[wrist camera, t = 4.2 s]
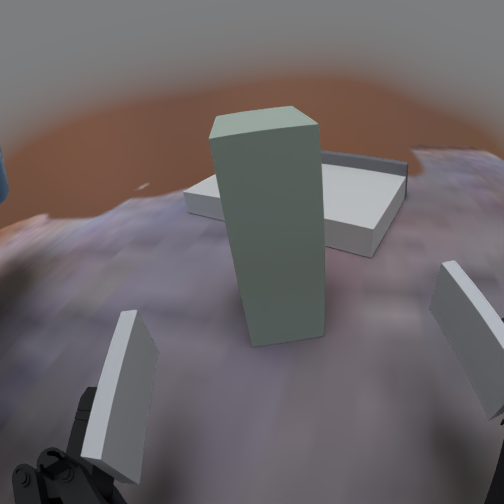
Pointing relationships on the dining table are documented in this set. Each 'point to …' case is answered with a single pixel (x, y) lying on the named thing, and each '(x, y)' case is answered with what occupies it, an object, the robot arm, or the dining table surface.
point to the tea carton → (274, 219)
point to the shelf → (338, 199)
